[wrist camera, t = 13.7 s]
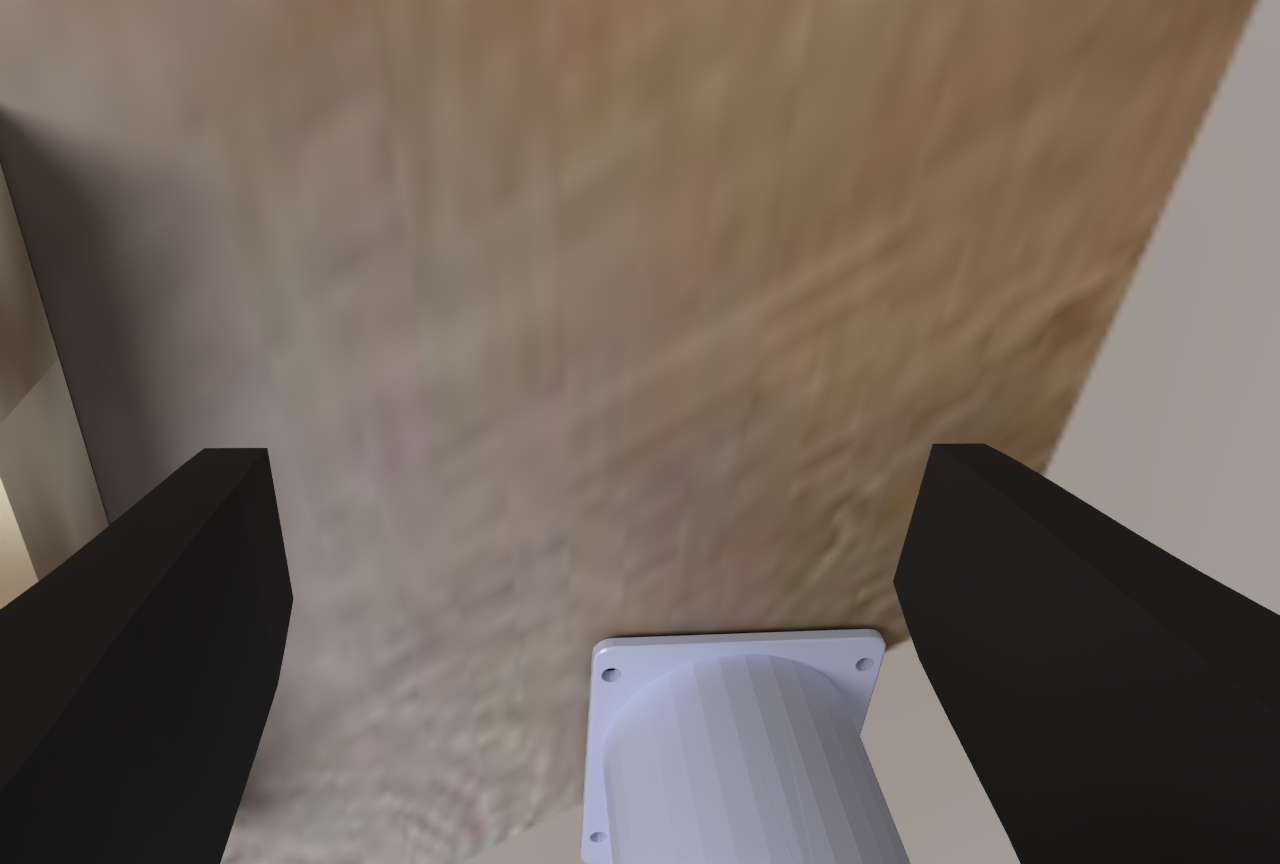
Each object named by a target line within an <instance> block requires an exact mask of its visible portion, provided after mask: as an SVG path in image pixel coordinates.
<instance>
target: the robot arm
mask: <svg viewBox="0 0 1280 864" xmlns="http://www.w3.org/2000/svg"><path fill="white" fill-rule="evenodd" d="M893 583H894V586H895V589H896V592H897V595H898V599H899V602H900V605H901V608H902V611H903V614H904V617H905V621H906V624H907V627H908V629H909V632H910V635H911V638H912V640H913V643H914V646H915V649H916V651H917V654H918V657H919V660H920V662H921V664H922V666H923V668H924V670H925V672H926V674H927V676H928V678H929V680H930V683H931V684H932V686H933V688H934V691H935V693H936V695H937V697H938V699H939V701H940V702H941V705H942V707H943V708H944V711H945V713H946V715H947V717H948V719H949V721H950V723H951V725H952V727H953V728H954V730H955V732H956V734H957V736H958V738H959V740H960V742H961V744H962V746H963V748H964V750H965V752H966V754H967V756H968V758H969V760H970V762H971V763H972V766H973V768H974V770H975V772H976V774H977V776H978V778H979V780H980V782H981V784H982V786H983V788H984V790H985V792H986V793H987V795H988V797H989V799H990V801H991V803H992V805H993V807H994V809H995V811H996V813H997V815H998V817H999V819H1000V821H1001V823H1002V825H1003V827H1004V829H1005V831H1006V833H1007V835H1008V837H1009V839H1010V841H1011V843H1012V846H1013V848H1014V850H1015V852H1016V854H1017V857H1018V859H1019V861H1020V863H1021V864H1280V615H1278V614H1276V613H1274V612H1272V611H1271V610H1269V609H1267V608H1265V607H1263V606H1261V605H1259V604H1258V603H1256V602H1254V601H1252V600H1250V599H1248V598H1247V597H1245V596H1243V595H1241V594H1240V593H1238V592H1236V591H1234V590H1232V589H1230V588H1229V587H1227V586H1225V585H1223V584H1222V583H1220V582H1218V581H1216V580H1214V579H1213V578H1211V577H1209V576H1207V575H1205V574H1203V573H1202V572H1200V571H1198V570H1197V569H1195V568H1193V567H1192V566H1190V565H1188V564H1186V563H1185V562H1183V561H1181V560H1180V559H1178V558H1176V557H1174V556H1173V555H1171V554H1169V553H1168V552H1166V551H1164V550H1163V549H1161V548H1159V547H1158V546H1156V545H1154V544H1152V543H1151V542H1149V541H1148V540H1146V539H1144V538H1143V537H1141V536H1139V535H1138V534H1136V533H1134V532H1133V531H1131V530H1130V529H1128V528H1126V527H1125V526H1123V525H1121V524H1120V523H1118V522H1116V521H1115V520H1113V519H1112V518H1110V517H1108V516H1107V515H1105V514H1103V513H1102V512H1100V511H1099V510H1097V509H1095V508H1094V507H1092V506H1091V505H1089V504H1087V503H1086V502H1084V501H1083V500H1081V499H1079V498H1078V497H1076V496H1074V495H1073V494H1071V493H1070V492H1068V491H1066V490H1065V489H1063V488H1062V487H1060V486H1058V485H1057V484H1055V483H1053V482H1052V481H1050V480H1048V479H1047V478H1045V477H1043V476H1042V475H1040V474H1038V473H1037V472H1035V471H1033V470H1032V469H1030V468H1028V467H1027V466H1025V465H1023V464H1021V463H1020V462H1018V461H1016V460H1014V459H1013V458H1011V457H1009V456H1007V455H1005V454H1003V453H1002V452H1000V451H998V450H996V449H994V448H992V447H990V446H988V445H985V444H933V445H932V449H931V452H930V456H929V459H928V463H927V466H926V470H925V473H924V477H923V480H922V483H921V487H920V490H919V494H918V497H917V501H916V504H915V508H914V511H913V515H912V518H911V521H910V525H909V528H908V532H907V535H906V539H905V542H904V546H903V549H902V553H901V556H900V560H899V563H898V566H897V570H896V573H895V577H894V580H893ZM292 603H293V594H292V589H291V583H290V577H289V571H288V565H287V560H286V554H285V548H284V542H283V537H282V531H281V525H280V519H279V514H278V508H277V502H276V496H275V490H274V485H273V479H272V473H271V467H270V462H269V456H268V450H267V448H204V449H203V450H202V451H200V452H199V453H198V454H196V455H195V456H194V457H192V458H191V459H190V460H189V461H187V462H186V463H185V464H183V465H182V466H181V467H180V468H179V469H177V470H176V471H175V472H174V473H172V474H171V475H170V476H169V477H168V478H166V479H165V480H164V481H163V482H162V483H160V484H159V485H158V486H157V487H155V488H154V489H153V490H152V491H151V492H149V493H148V494H147V495H146V496H145V497H143V498H142V499H141V500H140V501H139V502H137V503H136V504H135V505H134V506H133V507H131V508H130V509H129V510H128V511H127V512H125V513H124V514H123V515H122V516H121V517H119V518H118V519H117V520H116V521H114V522H113V523H112V524H111V525H109V526H108V527H107V528H106V529H104V530H103V531H102V532H101V533H99V534H98V535H97V536H96V537H94V538H93V539H92V540H91V541H89V542H88V543H87V544H86V545H84V546H83V547H82V548H81V549H79V550H78V551H77V552H76V553H75V554H73V555H72V556H71V557H70V558H68V559H67V560H66V561H65V562H63V563H62V564H61V565H60V566H58V567H57V568H56V569H54V570H53V571H52V572H50V573H49V574H48V575H46V576H45V577H44V578H42V579H41V580H40V581H38V582H37V583H36V584H34V585H33V586H31V587H30V588H29V589H27V590H26V591H25V592H23V593H22V594H21V595H19V596H18V597H16V598H15V599H14V600H12V601H11V602H10V603H8V604H7V605H6V606H4V607H3V608H1V609H0V864H220V862H221V859H222V856H223V853H224V850H225V847H226V844H227V841H228V838H229V835H230V832H231V829H232V825H233V822H234V819H235V816H236V813H237V810H238V807H239V804H240V801H241V798H242V795H243V792H244V789H245V786H246V783H247V780H248V776H249V773H250V770H251V767H252V764H253V761H254V758H255V755H256V752H257V749H258V746H259V742H260V739H261V736H262V733H263V730H264V727H265V724H266V721H267V717H268V714H269V711H270V708H271V705H272V702H273V698H274V695H275V692H276V689H277V685H278V680H279V675H280V670H281V665H282V660H283V655H284V649H285V644H286V638H287V632H288V627H289V621H290V615H291V609H292ZM885 649H886V644H885V642H884V640H883V638H882V636H881V634H880V633H879V632H878V631H876V630H873V629H851V630H823V631H795V632H768V633H740V634H713V635H685V636H657V637H630V638H610V639H605V640H603V641H601V642H599V643H598V644H597V645H596V646H595V647H594V649H593V652H592V664H591V680H590V696H589V712H588V729H587V745H586V761H585V777H584V794H583V811H582V826H581V843H580V852H581V859H582V861H583V862H585V863H586V864H910V862H909V859H908V856H907V854H906V852H905V849H904V846H903V844H902V841H901V839H900V836H899V834H898V832H897V829H896V826H895V824H894V821H893V819H892V816H891V814H890V811H889V809H888V806H887V804H886V801H885V799H884V796H883V794H882V791H881V789H880V786H879V783H878V781H877V779H876V776H875V773H874V771H873V768H872V766H871V763H870V761H869V758H868V756H867V753H866V751H865V748H864V746H863V743H862V741H861V738H860V733H861V730H862V726H863V723H864V720H865V716H866V713H867V710H868V706H869V703H870V700H871V696H872V693H873V690H874V686H875V683H876V679H877V676H878V673H879V669H880V666H881V663H882V659H883V656H884V653H885ZM863 658H865V659H863ZM861 659H863V660H861ZM610 668H615V670H612V671H606V669H610Z"/></svg>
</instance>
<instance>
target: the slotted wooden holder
mask: <svg viewBox="0 0 1280 864" xmlns="http://www.w3.org/2000/svg"><path fill="white" fill-rule="evenodd" d="M108 526H109V524H108V521H107V517H106V514H105V511H104V507H103V504H102V501H101V497H100V494H99V491H98V487H97V484H96V481H95V477H94V474H93V471H92V467H91V464H90V461H89V457H88V454H87V451H86V447H85V444H84V441H83V437H82V434H81V431H80V427H79V424H78V421H77V417H76V414H75V411H74V407H73V404H72V401H71V397H70V394H69V391H68V387H67V384H66V380H65V377H64V374H63V370H62V367H61V364H60V360H59V357H58V354H57V350H56V347H55V344H54V340H53V337H52V334H51V330H50V327H49V324H48V320H47V317H46V314H45V310H44V307H43V304H42V300H41V297H40V294H39V290H38V287H37V284H36V280H35V277H34V274H33V270H32V267H31V264H30V260H29V257H28V254H27V250H26V247H25V244H24V240H23V237H22V234H21V230H20V227H19V223H18V220H17V217H16V213H15V210H14V207H13V203H12V200H11V197H10V193H9V190H8V187H7V183H6V180H5V177H4V173H3V170H2V167H1V163H0V609H1V608H3V607H4V606H6V605H7V604H8V603H10V602H11V601H12V600H14V599H15V598H16V597H18V596H19V595H21V594H22V593H23V592H25V591H26V590H27V589H29V588H30V587H31V586H33V585H34V584H36V583H37V582H38V581H40V580H41V579H42V578H44V577H45V576H46V575H48V574H49V573H50V572H52V571H53V570H54V569H56V568H57V567H58V566H60V565H61V564H62V563H63V562H65V561H66V560H67V559H68V558H70V557H71V556H72V555H73V554H75V553H76V552H77V551H78V550H79V549H81V548H82V547H83V546H84V545H86V544H87V543H88V542H89V541H91V540H92V539H93V538H94V537H96V536H97V535H98V534H99V533H101V532H102V531H103V530H104V529H106V528H107V527H108Z"/></svg>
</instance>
